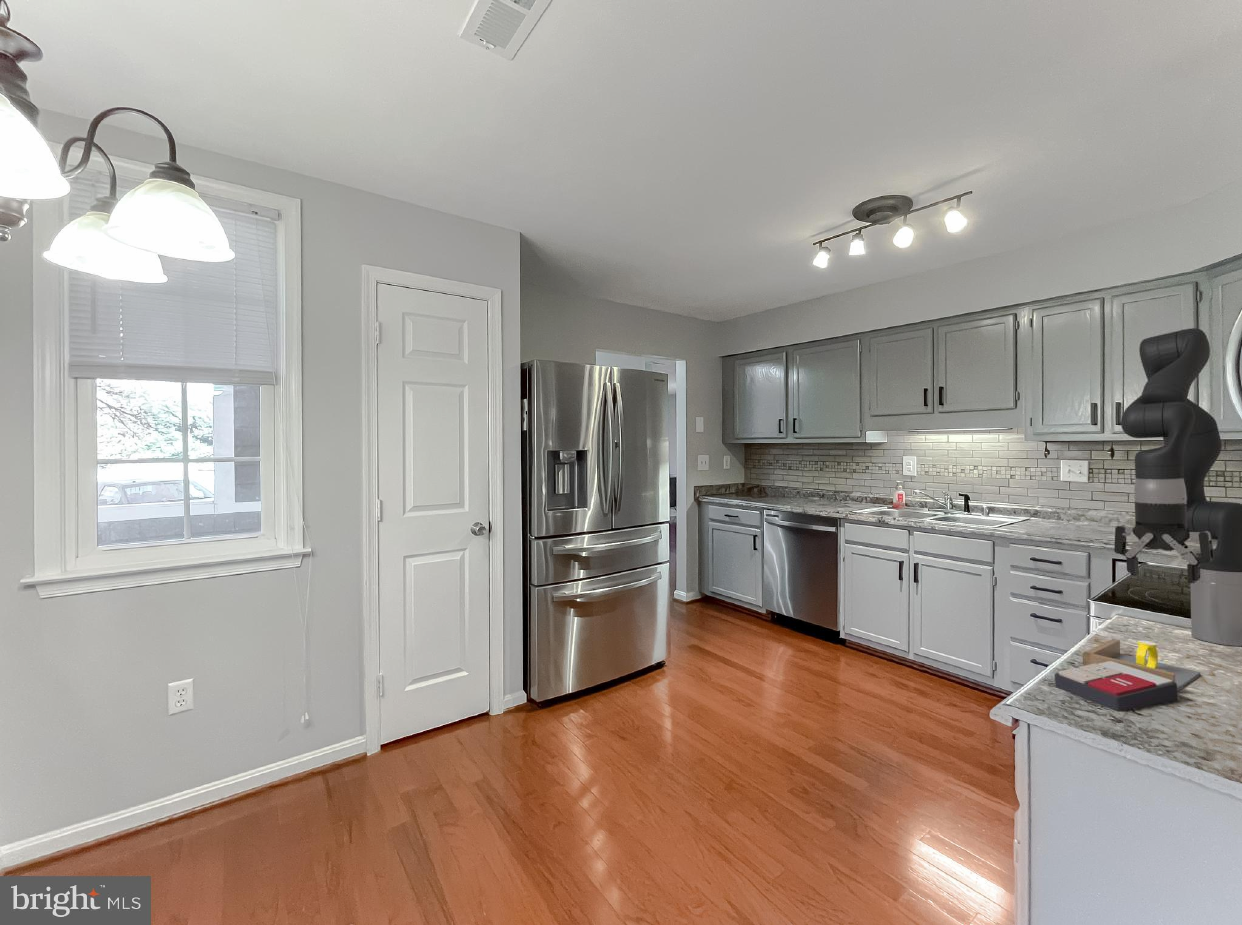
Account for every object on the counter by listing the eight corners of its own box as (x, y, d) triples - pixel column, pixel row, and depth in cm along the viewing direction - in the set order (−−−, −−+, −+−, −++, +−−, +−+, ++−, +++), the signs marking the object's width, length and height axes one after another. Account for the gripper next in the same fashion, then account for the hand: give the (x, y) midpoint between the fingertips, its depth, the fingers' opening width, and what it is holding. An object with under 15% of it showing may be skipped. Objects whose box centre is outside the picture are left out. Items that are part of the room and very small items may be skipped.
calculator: (1053, 669, 104) (1109, 657, 108) (1054, 691, 104) (1110, 678, 108) (1117, 693, 94) (1178, 678, 97) (1118, 717, 94) (1179, 702, 97)
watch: (1144, 667, 112) (1144, 638, 112) (1162, 672, 109) (1162, 642, 109) (1131, 671, 109) (1131, 641, 109) (1149, 675, 107) (1149, 645, 107)
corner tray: (1113, 654, 120) (1112, 638, 120) (1200, 675, 108) (1199, 657, 108) (1082, 670, 112) (1082, 652, 112) (1173, 693, 100) (1173, 674, 100)
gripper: (1107, 500, 114) (1110, 575, 114) (1204, 503, 101) (1207, 588, 101) (1121, 497, 117) (1123, 570, 117) (1216, 500, 105) (1219, 582, 105)
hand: (1162, 578), depth 109 cm, fingers open, 8 cm apart
